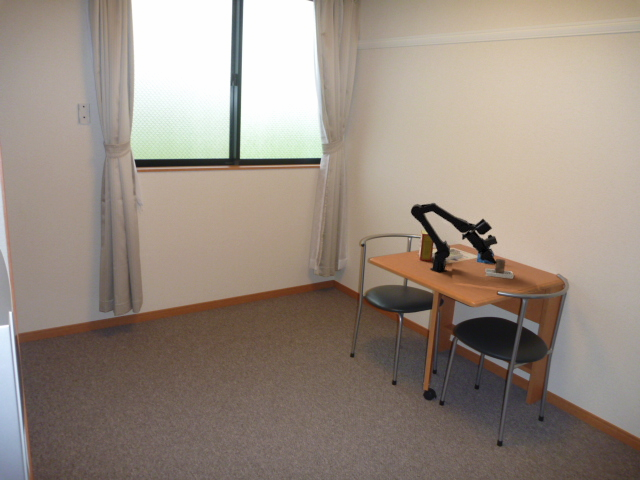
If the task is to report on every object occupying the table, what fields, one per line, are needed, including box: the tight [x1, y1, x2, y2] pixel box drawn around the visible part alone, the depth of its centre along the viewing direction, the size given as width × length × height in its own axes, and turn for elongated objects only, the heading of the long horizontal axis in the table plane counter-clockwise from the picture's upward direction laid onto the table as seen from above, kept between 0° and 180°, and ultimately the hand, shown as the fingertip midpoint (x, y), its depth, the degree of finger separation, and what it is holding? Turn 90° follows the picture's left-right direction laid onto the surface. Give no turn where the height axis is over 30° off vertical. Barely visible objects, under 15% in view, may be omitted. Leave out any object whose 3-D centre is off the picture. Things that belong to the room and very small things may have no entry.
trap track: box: [485, 268, 514, 280], centre depth 249 cm, size 13×7×3 cm, turn 75°
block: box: [494, 258, 506, 274], centre depth 248 cm, size 4×4×8 cm
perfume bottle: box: [476, 246, 495, 265], centre depth 271 cm, size 6×6×12 cm
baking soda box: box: [418, 229, 434, 262], centre depth 275 cm, size 10×6×16 cm
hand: (495, 263), depth 248 cm, fingers closed, pressing on block
